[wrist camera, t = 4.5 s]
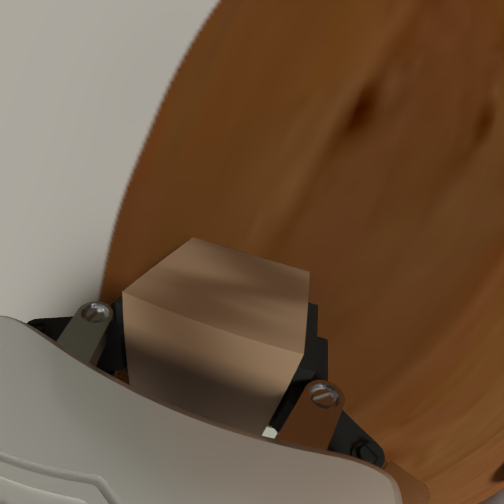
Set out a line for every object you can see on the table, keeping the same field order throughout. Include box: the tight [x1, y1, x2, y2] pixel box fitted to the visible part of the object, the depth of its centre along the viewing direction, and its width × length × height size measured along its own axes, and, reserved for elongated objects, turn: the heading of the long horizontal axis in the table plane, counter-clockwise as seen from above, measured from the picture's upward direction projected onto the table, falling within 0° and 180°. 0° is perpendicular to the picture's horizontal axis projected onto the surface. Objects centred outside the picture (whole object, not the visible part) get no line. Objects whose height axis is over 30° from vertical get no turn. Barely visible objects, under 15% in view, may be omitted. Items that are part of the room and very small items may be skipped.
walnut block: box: [122, 237, 310, 435], centre depth 10 cm, size 5×5×5 cm
